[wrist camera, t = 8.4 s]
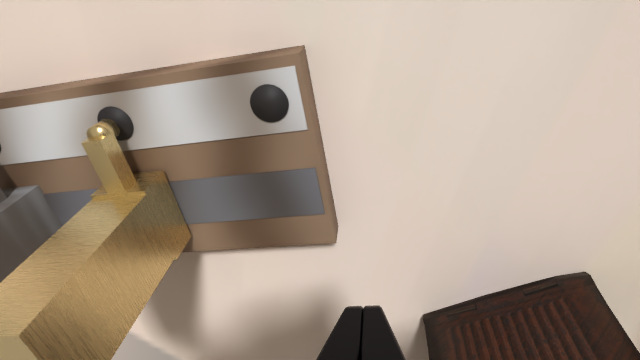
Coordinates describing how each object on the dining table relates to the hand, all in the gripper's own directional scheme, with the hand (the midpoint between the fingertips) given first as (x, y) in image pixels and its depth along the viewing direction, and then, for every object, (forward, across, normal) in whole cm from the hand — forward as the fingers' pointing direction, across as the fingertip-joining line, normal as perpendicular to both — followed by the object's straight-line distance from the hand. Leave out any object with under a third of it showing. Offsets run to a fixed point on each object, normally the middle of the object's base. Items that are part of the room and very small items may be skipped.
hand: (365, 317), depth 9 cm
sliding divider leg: (+10, +12, +1) cm, 16 cm away
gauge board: (+12, +12, +1) cm, 17 cm away
